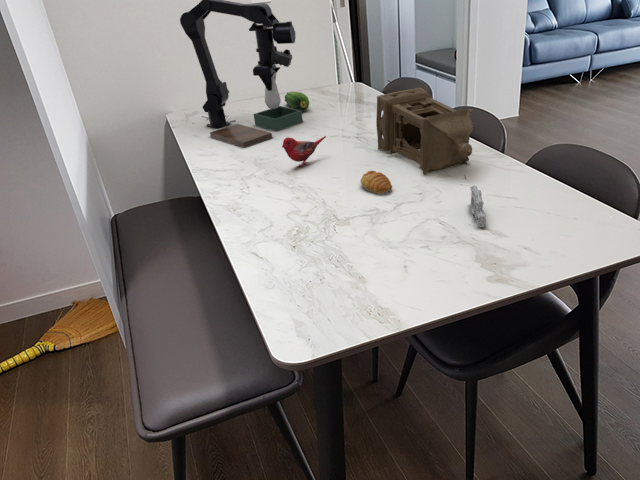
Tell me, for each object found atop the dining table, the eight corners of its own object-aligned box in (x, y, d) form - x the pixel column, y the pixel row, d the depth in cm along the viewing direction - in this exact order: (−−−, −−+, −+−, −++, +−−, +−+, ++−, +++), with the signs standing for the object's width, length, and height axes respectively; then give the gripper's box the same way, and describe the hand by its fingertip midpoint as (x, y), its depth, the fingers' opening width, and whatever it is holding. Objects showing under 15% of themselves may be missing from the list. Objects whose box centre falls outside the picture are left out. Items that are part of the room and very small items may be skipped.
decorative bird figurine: (281, 172, 156) (277, 139, 151) (324, 154, 167) (321, 122, 162) (288, 174, 154) (283, 140, 149) (331, 156, 165) (328, 124, 160)
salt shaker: (266, 105, 197) (261, 68, 190) (281, 104, 197) (277, 67, 190) (265, 109, 192) (260, 72, 185) (281, 108, 192) (276, 71, 185)
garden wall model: (485, 228, 119) (487, 204, 116) (477, 228, 119) (478, 204, 116) (476, 205, 129) (477, 182, 126) (468, 205, 129) (469, 182, 126)
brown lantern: (489, 182, 146) (502, 115, 138) (435, 189, 139) (446, 118, 130) (419, 145, 173) (427, 86, 164) (371, 149, 166) (377, 88, 157)
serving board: (210, 137, 190) (209, 132, 189) (238, 128, 197) (237, 123, 196) (244, 147, 177) (243, 142, 177) (272, 138, 185) (271, 132, 184)
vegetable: (296, 92, 203) (283, 82, 219) (290, 110, 205) (277, 99, 222) (314, 98, 207) (299, 88, 223) (307, 116, 209) (294, 105, 225)
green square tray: (255, 125, 199) (253, 114, 196) (281, 117, 206) (279, 105, 204) (276, 131, 191) (274, 119, 189) (302, 122, 198) (301, 110, 196)
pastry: (398, 191, 139) (398, 177, 137) (377, 198, 137) (376, 184, 135) (378, 180, 146) (378, 167, 144) (357, 186, 144) (356, 173, 142)
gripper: (282, 48, 174) (287, 96, 182) (294, 38, 190) (299, 83, 198) (249, 49, 176) (256, 97, 184) (263, 40, 192) (270, 84, 200)
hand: (271, 90), depth 191 cm, fingers closed on salt shaker, 3 cm apart
